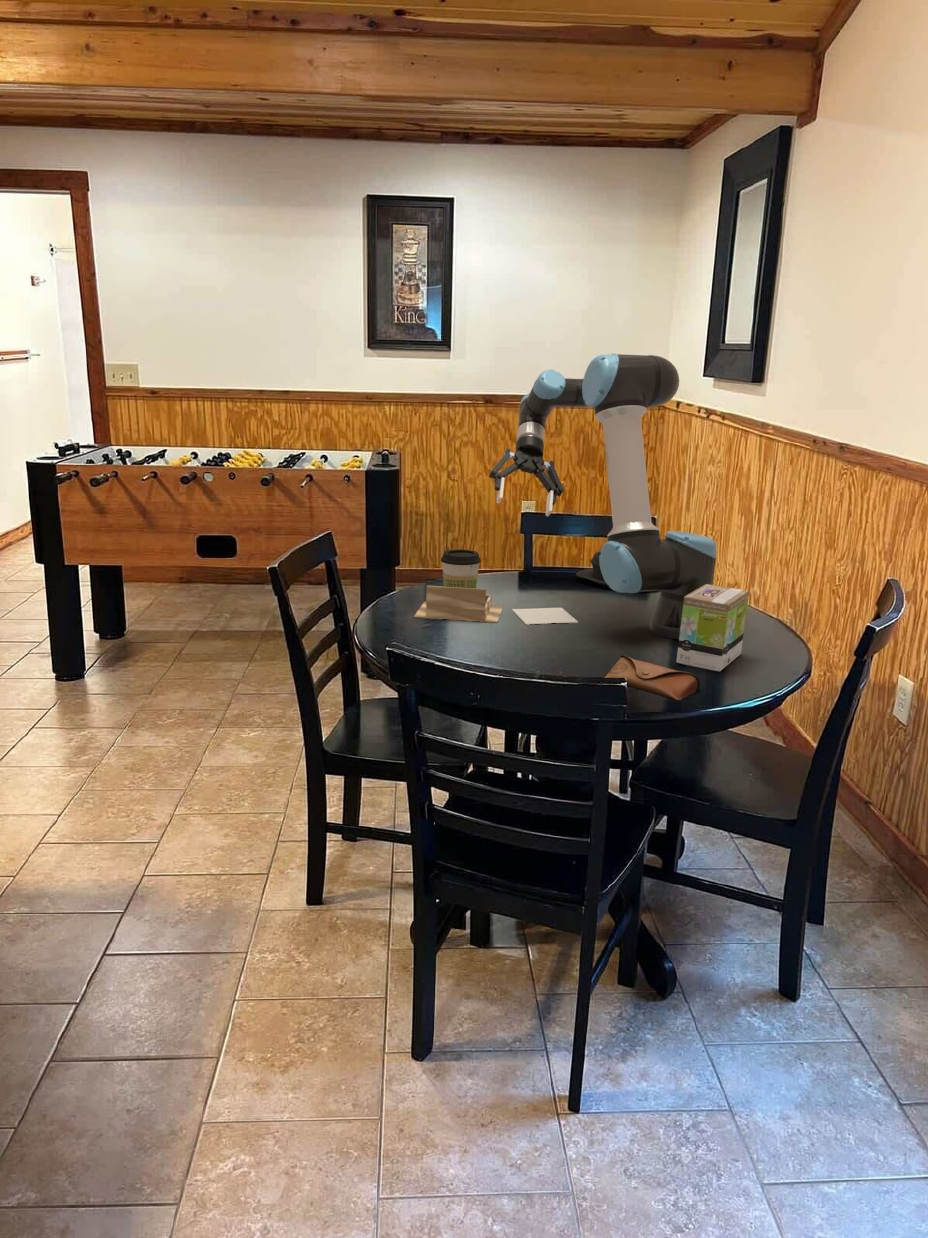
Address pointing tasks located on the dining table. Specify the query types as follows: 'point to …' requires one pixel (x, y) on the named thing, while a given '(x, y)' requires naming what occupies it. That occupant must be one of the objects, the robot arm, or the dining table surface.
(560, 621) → the mat
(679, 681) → the sunglasses case
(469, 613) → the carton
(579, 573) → the black brimmed hat
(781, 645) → the dining table surface
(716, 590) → the tea box
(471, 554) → the coffee cup
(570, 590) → the dining table surface
